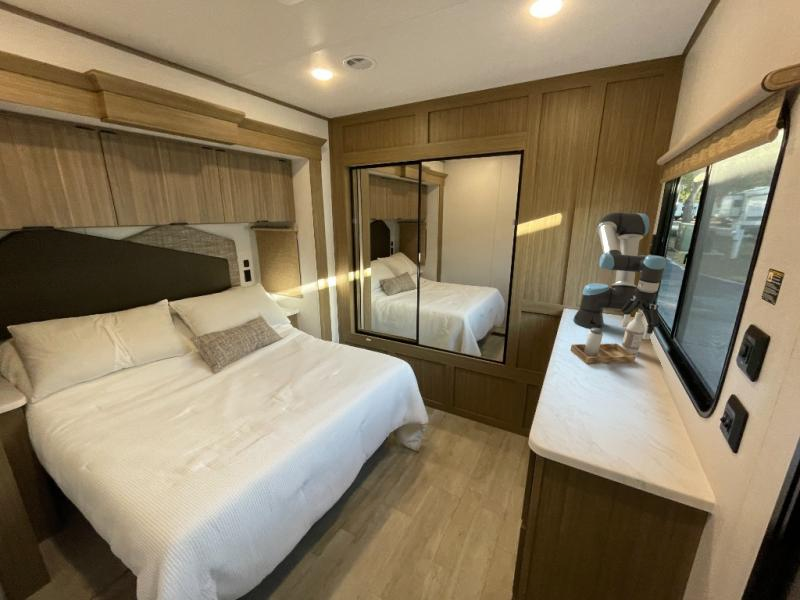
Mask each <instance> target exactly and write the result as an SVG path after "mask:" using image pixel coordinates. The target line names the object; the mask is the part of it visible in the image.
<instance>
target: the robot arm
mask: <svg viewBox="0 0 800 600" xmlns="http://www.w3.org/2000/svg"><path fill="white" fill-rule="evenodd" d="M649 230H650V218H649V216H648V215H647V214H646V213H640V212H618V211H617V212H616V211H615V212H610V213H607V214H605V215H604V216H602V217H601V218H600V219H599V220H598V222H597V223H596V226H595V231H596V234H597V235H598V236H599V239H600V243H601V244H600V245H601V250H602V254H601V256H600V258H599V267H600V269H601V270H608V271H615V272H616V274H615V279H614V283H612V284H611V285H610V286H609V285H608V284H606V283H598V282H597V283H588V284H586V285H584V288H583V291H582V295H581V300H580V304H579V309H578V310H577V312H576V313H575V315H574V316H573V320H572V321H573V323H575V324H576V325H578V326H579V327H580V326H581V327H583V328H589V329H591V328H599V329H601V328H602V329H603V326H604V315H603V312H604V309H607V310H608V309H609V310H616V311H621V312H622V313H623V315H622V322H621V326H620V327H621V328H626V327H627V325H628V324H629V323H630V319H631V313H633V312H634V311H635V310H636V309H638V310H640V311H642V313H643V314H644V318H645V320H646V323H647V325H646V326H645V327H644V334H643V337H642V340H650V339H651V335H652V334H653V333H654V328H659V327H660V321H659V310H658V309H659V305H658V304H653V301H655V299H656V297H657V292H658V290H659V286H660V283H661V279H662V276H663V272H664V269H665V268H666V261H667V259H666V258H665V256H660V255H653V254H651V255H645V254H642V255H640V254H639V253H638V252H639V246H640V241H641V240H642V239H643V238H644V236H646V235H647V234H648V232H649ZM619 241H620V242H619ZM638 254H639V255H638ZM636 273H640V274H639V278H638V284H637V285H636V284H635V279H636V277H635V275H636Z"/></svg>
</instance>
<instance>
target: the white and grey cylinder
mask: <svg viewBox="0 0 800 600" xmlns="http://www.w3.org/2000/svg"><path fill="white" fill-rule="evenodd" d="M603 335H604V333H603V329H601V328H590V329H589V330H588V333H587V337H586V343H585V344H586V345H585V350H584V354H585V355H587V356H588V357H597V356H598V352H599V348H600V344H602V339H603Z"/></svg>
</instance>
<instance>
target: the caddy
mask: <svg viewBox="0 0 800 600" xmlns="http://www.w3.org/2000/svg"><path fill="white" fill-rule="evenodd" d="M585 345H586V343H577V344H571V345H570V351H571V353H573V354H574V355H575V356H576V357H577V358H578V359H579V360H581V361H582V362H583V363H584V364H585V365H603V364H604V365H607V364H609V365H610V364H612V365H613V364H634V363H635V361H636V358H637V356H636V355H635V354H631V353H630V352H629V351H627V350H626V349H624V348H623V347H621V346H622V345H620V344H618V343H614V342H612V343H601V344H600V348H599V352H598V356H597V357H588V356H587V355H585V354H584V350H585Z"/></svg>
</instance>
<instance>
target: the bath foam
mask: <svg viewBox="0 0 800 600" xmlns="http://www.w3.org/2000/svg"><path fill="white" fill-rule="evenodd" d="M644 316H645V314H644V312H641V311H636V312H635V315H634V318H633V320H630V321H629V323H628V325H627V327H625V328H626V329H625V332H624V336H623V338H622V343H621V345H620V346H621V347H623V348H624V349H626V350H627V351H629V352H630V353H631V354H633V355H636V354H638V353H639V349H640V347H641V343H642V340H643V339H642V338H643V335H644V332H645V324H644V323H643V318H644Z"/></svg>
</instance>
